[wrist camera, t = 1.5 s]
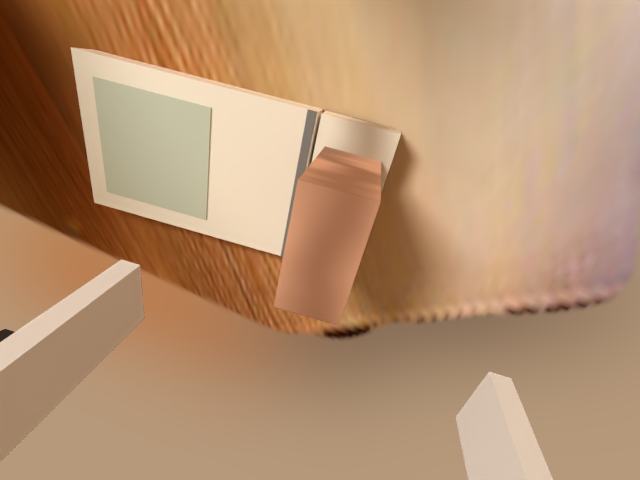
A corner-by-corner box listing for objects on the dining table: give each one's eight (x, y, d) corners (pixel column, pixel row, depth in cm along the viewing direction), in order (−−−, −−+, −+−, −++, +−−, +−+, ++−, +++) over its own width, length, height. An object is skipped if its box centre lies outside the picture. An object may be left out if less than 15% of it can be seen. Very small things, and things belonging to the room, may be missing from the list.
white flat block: (111, 195, 30) (93, 203, 28) (93, 49, 24) (69, 47, 22) (294, 247, 29) (288, 259, 27) (323, 109, 23) (317, 111, 21)
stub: (296, 249, 28) (258, 327, 20) (326, 110, 22) (290, 132, 14) (354, 266, 28) (341, 352, 19) (399, 129, 22) (410, 165, 14)
